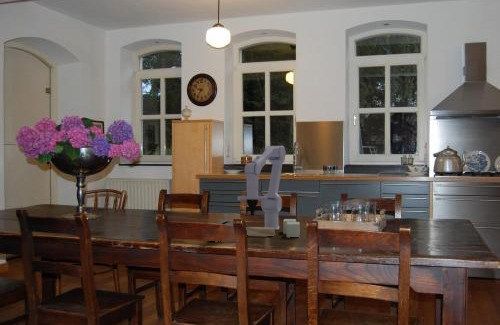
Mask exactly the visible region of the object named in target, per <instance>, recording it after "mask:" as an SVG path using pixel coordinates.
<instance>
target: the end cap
mask: <svg viewBox="0 0 500 325" xmlns="http://www.w3.org/2000/svg"><path fill="white" fill-rule="evenodd" d="M300 226H301V225H300V221H296V222H287V234H286V238H290V237H299V238H300V236H299V235H300V232H301V231H300V229H301V228H300Z"/></svg>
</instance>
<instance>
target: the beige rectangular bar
mask: <svg viewBox="0 0 500 325" xmlns="http://www.w3.org/2000/svg"><path fill="white" fill-rule="evenodd" d="M245 228H246V230H247V235H248V236H247V237H267V236H274V235H276V230H275V228H268V227H265V226H264V227H262V226H260V227H259V226H246V227H245ZM274 237H275V236H274Z"/></svg>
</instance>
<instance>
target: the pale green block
mask: <svg viewBox="0 0 500 325" xmlns="http://www.w3.org/2000/svg"><path fill="white" fill-rule="evenodd" d="M287 222H297V219H296V218H284V219H283V228H282V230H283V232H282V233H283V235H287Z"/></svg>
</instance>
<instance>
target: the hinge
mask: <svg viewBox="0 0 500 325" xmlns="http://www.w3.org/2000/svg"><path fill="white" fill-rule="evenodd" d="M233 223H234V222H232V221H230V220H227V219H226V220H222V221H219V222H218V223H217V224H224V225H233Z"/></svg>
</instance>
